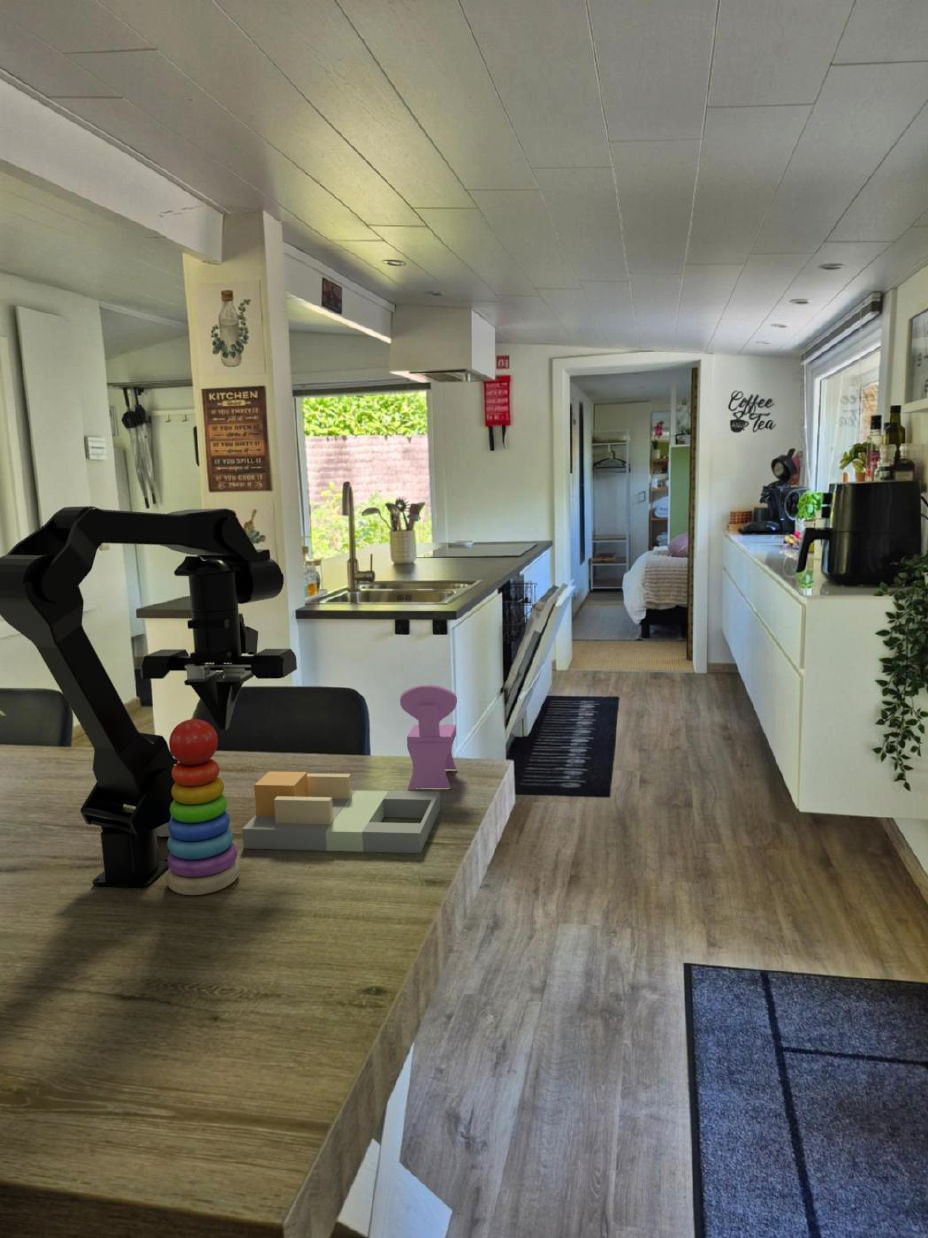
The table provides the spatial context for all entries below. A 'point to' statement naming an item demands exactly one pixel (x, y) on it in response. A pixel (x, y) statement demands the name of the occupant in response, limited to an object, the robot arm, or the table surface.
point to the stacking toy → (198, 815)
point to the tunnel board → (344, 819)
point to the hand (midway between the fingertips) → (224, 729)
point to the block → (278, 789)
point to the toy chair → (430, 735)
